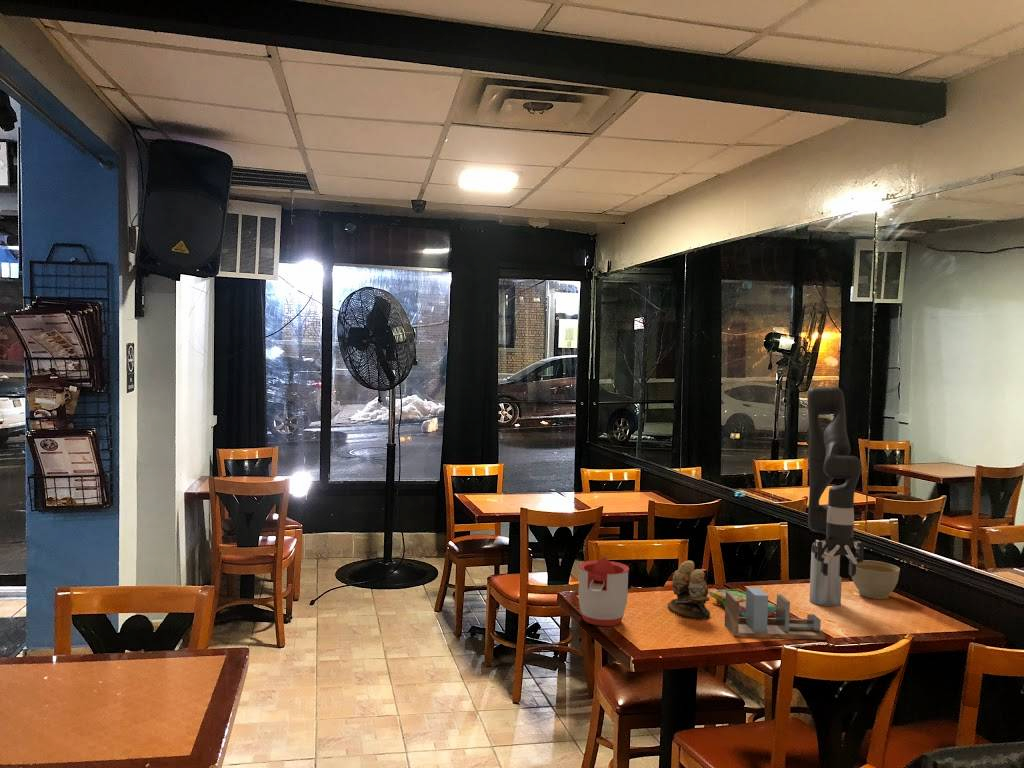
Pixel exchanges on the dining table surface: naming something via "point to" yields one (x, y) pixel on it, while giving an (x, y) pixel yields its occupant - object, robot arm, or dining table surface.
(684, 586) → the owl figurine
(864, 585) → the planter bowl
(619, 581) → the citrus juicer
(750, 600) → the pale blue block
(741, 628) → the shelf
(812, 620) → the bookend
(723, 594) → the puzzle game
